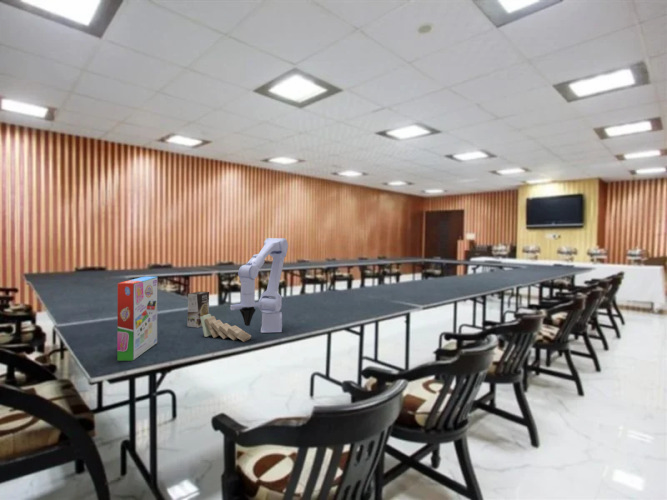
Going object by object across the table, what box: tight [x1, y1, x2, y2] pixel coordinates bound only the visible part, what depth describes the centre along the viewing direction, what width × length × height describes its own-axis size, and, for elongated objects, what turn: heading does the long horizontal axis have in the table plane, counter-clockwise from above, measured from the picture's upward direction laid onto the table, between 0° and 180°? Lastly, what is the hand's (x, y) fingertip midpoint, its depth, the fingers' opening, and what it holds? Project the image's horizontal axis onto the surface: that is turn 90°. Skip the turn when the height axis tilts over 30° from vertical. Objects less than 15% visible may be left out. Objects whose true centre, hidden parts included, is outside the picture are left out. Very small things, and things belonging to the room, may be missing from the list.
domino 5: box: [227, 325, 252, 343], centre depth 152 cm, size 2×5×9 cm
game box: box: [116, 275, 158, 362], centre depth 133 cm, size 21×6×27 cm, turn 5°
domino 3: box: [210, 319, 229, 340], centre depth 155 cm, size 2×5×9 cm
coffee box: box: [186, 291, 210, 329], centre depth 175 cm, size 9×6×16 cm
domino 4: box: [218, 322, 238, 341], centre depth 154 cm, size 2×5×9 cm
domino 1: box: [200, 313, 212, 338], centre depth 157 cm, size 2×5×9 cm, turn 162°
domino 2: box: [205, 315, 221, 339], centre depth 156 cm, size 2×5×9 cm
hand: (247, 325), depth 151 cm, fingers closed
